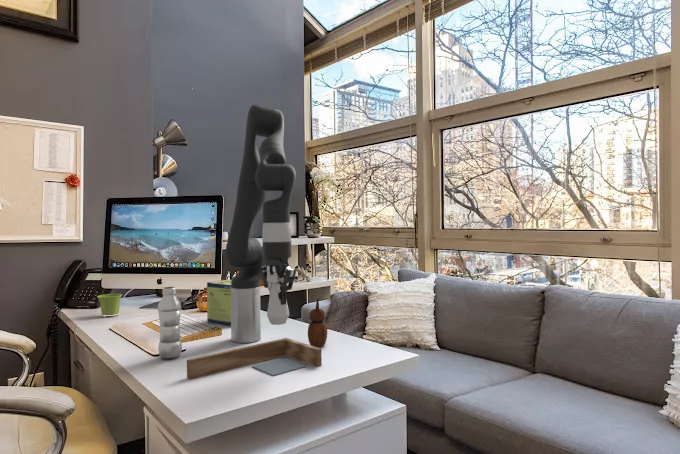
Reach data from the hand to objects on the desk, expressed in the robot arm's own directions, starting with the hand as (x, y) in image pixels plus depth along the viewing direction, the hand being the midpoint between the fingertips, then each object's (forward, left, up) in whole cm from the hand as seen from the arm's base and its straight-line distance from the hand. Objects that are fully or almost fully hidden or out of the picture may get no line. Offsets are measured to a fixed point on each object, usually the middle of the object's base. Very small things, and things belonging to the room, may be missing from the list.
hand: (277, 305), depth 121 cm
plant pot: (-106, -11, -17) cm, 108 cm away
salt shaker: (0, 0, -5) cm, 5 cm away
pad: (0, 0, -16) cm, 16 cm away
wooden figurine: (-9, +21, -17) cm, 28 cm away
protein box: (-59, +19, -17) cm, 64 cm away
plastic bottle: (-29, -17, -17) cm, 38 cm away
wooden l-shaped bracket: (-1, -6, -16) cm, 17 cm away
